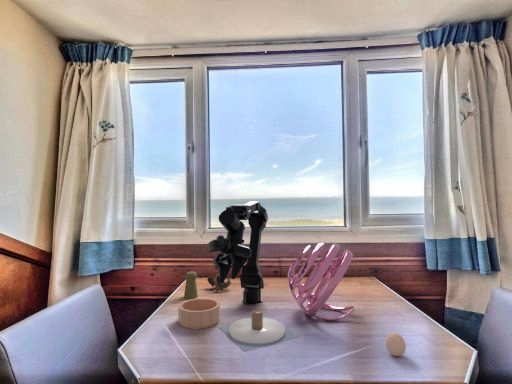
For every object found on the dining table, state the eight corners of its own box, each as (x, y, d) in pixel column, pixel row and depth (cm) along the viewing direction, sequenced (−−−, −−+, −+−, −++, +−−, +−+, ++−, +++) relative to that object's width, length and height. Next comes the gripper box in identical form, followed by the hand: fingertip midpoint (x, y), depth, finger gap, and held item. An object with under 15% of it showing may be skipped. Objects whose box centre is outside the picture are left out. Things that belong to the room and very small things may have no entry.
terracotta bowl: (211, 312, 118) (211, 296, 118) (226, 324, 106) (226, 307, 106) (174, 319, 111) (174, 302, 111) (185, 333, 99) (185, 314, 99)
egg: (410, 358, 83) (409, 336, 83) (393, 361, 82) (393, 338, 82) (397, 349, 88) (397, 328, 88) (381, 351, 87) (381, 330, 87)
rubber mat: (267, 317, 112) (267, 316, 112) (299, 338, 95) (299, 336, 96) (218, 328, 103) (218, 327, 103) (244, 353, 86) (244, 351, 86)
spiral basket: (382, 259, 119) (322, 219, 125) (378, 297, 94) (303, 244, 101) (342, 307, 130) (289, 268, 137) (329, 352, 105) (264, 302, 112)
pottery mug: (232, 287, 153) (234, 275, 150) (225, 301, 145) (227, 288, 141) (210, 280, 156) (211, 267, 152) (202, 293, 148) (202, 280, 144)
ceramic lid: (266, 317, 111) (266, 299, 112) (296, 336, 96) (296, 315, 96) (220, 327, 103) (220, 308, 103) (244, 350, 87) (244, 327, 87)
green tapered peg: (194, 299, 133) (194, 273, 133) (181, 298, 134) (181, 273, 135) (200, 295, 139) (200, 270, 139) (187, 294, 140) (187, 270, 141)
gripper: (204, 237, 114) (194, 279, 107) (224, 222, 99) (215, 270, 92) (231, 245, 118) (223, 286, 111) (254, 232, 103) (248, 279, 96)
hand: (226, 281), depth 102 cm, fingers open, 9 cm apart
